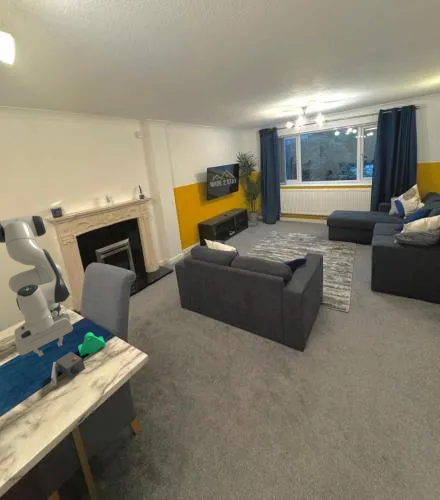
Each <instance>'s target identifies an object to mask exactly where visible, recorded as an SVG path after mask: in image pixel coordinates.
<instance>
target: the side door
mask: <svg viewBox="0 0 440 500" xmlns="http://www.w3.org/2000/svg"><path fill="white" fill-rule="evenodd" d="M58 374H59V368H58V365H57V363H56V361H53V362H52V370H51V377H50V379H51V380H50V383H51V386H52V385H53V386H54V387H57V385H58V384H57V383H58V376H59V375H58Z"/></svg>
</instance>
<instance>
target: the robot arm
mask: <svg viewBox="0 0 440 500" xmlns="http://www.w3.org/2000/svg"><path fill="white" fill-rule="evenodd" d="M47 228H48V227H47V223H46V221H45V220H44V219H43V217H42V216H40V215H32V216H19V217H17V216H16V217H14V218H13V217H12V218H9V219H3V220H0V244H2V243H5V246H6V250H7V253H8V256H9V258H11V259H12V260H13V261H16V263H17V262H18V263H20V264H22V265H25V266H34V268H31V269H28V270H24V271H22V272H19V273H17V274H15V275H13V276H11V277H10V278H9V281H8V287H9V289H10V290H11V291H12V292H13V293H16V300H15V301H16V305H17V307H18V310H19V311H20V312H21V314H22V315H23V317H24V321H25V322H24V323H23V324H21V325H20V326H19V327H17V328H15V329H14V335H15V338H14V343H15V348H16V350H17V353H18V355H19V356H25V355H27V354H28V353H31V352H32V351H33V353H36V354H37V355H38V357H42V356H44V352H43V350H42V349H40V350H39V348H40V347H43V346H45V345H47V344H49V343H51V342H53V341H55V340H57V339H58V341H56V343H57V346H58V347H59V348H60V347H61V346H63V339H64V336H65V335H67V334H69V333H72V332H73V330H74V327H73V324H72V323H71V320H72V318H71V316H70V314H68V313H67V312H66V311H65V309H64V308H62V306H61V304H60V303H64V302H65V301H67V299H68V298H69V296H70V294H71V291H70V287H69V284H68V283H67V282H66V281H65V280H64V278H63V275H64V271H63V268H62V266H61V265H60V264H58V263H55V262H54V259H53V258H52V256H51V254H50V253H49V251H47V249H45V248H41V245H40V241H39V239H38V237H42V236H45V234H46V233H47Z"/></svg>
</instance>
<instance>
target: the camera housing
mask: <svg viewBox="0 0 440 500" xmlns="http://www.w3.org/2000/svg"><path fill="white" fill-rule="evenodd" d="M55 362H56V365H57V367H58V372H60V373H61V374H63V375H64V376H66V377H67V378H69V379H70V380H72V379H73V378H75V377H76V376H77V375H79V374H81V373H82V371H84V370H85V369H86V367H85V363H84V361H83V358H82V357H81V356H79V355H77V354H75V353H74V352H72V351H69V352H68V353H67V354H64V355H63V356H62V357H60V358H58V359H57V360H56V361H55Z"/></svg>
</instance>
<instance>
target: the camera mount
mask: <svg viewBox="0 0 440 500" xmlns="http://www.w3.org/2000/svg"><path fill="white" fill-rule="evenodd" d="M84 334H85V333H84ZM83 339H84V340H83V342H82V343H81V344H79V345H78V346H77V348H78V352H79V355H80V357H83V356H86V355H87V354H89V355H90V354H93V353H95V352H99V351H100V350H99V349H102V348H103V347H106V346H107V345H106V342H105V339H104V338H103V336H102V335H101V336H98V337H97V336H95V334H94V333H93V332H87V333H86V334H85V335H84V337H83Z"/></svg>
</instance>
